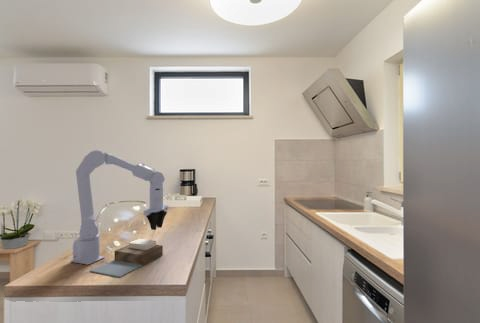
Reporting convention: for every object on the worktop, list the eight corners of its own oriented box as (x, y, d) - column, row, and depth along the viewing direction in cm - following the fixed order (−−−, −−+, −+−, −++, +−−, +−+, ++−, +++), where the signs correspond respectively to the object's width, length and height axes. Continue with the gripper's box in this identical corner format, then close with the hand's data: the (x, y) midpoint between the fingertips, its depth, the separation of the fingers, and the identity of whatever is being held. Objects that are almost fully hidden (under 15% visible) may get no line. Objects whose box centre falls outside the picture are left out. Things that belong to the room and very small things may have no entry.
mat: (90, 271, 95) (90, 270, 95) (114, 261, 105) (114, 260, 105) (120, 277, 90) (120, 276, 90) (142, 265, 100) (142, 264, 100)
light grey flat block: (128, 247, 109) (128, 242, 109) (139, 243, 114) (139, 238, 114) (146, 250, 105) (146, 245, 105) (156, 245, 111) (156, 240, 111)
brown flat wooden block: (114, 260, 105) (114, 250, 105) (136, 251, 116) (136, 242, 116) (142, 265, 100) (142, 255, 100) (162, 255, 111) (162, 245, 111)
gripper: (153, 201, 110) (153, 233, 110) (173, 196, 124) (173, 225, 124) (139, 200, 112) (139, 231, 113) (161, 195, 126) (161, 224, 126)
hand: (156, 228), depth 118 cm, fingers open, 3 cm apart
